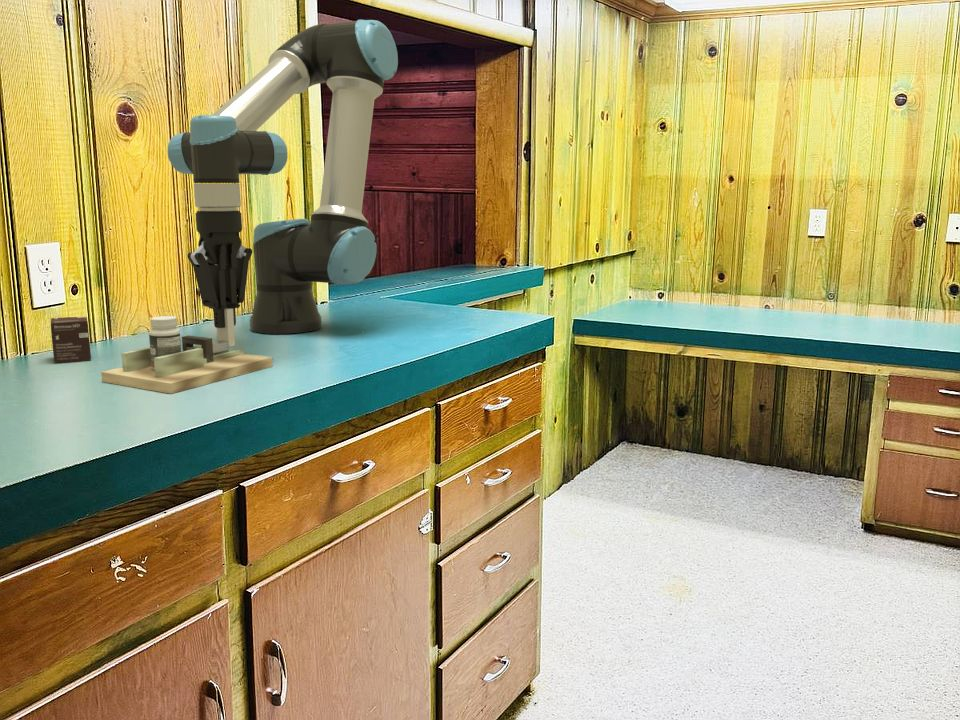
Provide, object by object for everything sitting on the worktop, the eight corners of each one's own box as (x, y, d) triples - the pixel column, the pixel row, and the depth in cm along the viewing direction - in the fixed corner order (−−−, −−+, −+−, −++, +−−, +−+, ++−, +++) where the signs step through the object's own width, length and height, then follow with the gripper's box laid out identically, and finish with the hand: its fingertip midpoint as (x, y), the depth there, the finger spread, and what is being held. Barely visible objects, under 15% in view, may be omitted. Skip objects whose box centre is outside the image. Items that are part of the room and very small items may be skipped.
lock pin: (218, 353, 151) (218, 340, 150) (228, 355, 150) (228, 341, 149) (187, 361, 145) (186, 347, 144) (197, 362, 144) (196, 348, 143)
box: (53, 364, 151) (49, 323, 149) (54, 357, 156) (50, 317, 155) (91, 360, 153) (87, 320, 152) (90, 354, 159) (87, 315, 157)
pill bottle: (151, 366, 141) (147, 316, 139) (182, 364, 143) (178, 314, 141) (151, 372, 137) (147, 320, 135) (182, 370, 138) (179, 318, 137)
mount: (206, 357, 156) (204, 326, 155) (272, 366, 148) (271, 334, 147) (102, 381, 137) (98, 347, 136) (171, 393, 130) (168, 357, 128)
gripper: (230, 208, 153) (238, 337, 158) (172, 210, 142) (182, 349, 147) (261, 208, 149) (268, 341, 154) (204, 210, 138) (213, 353, 143)
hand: (226, 345), depth 151 cm, fingers closed
